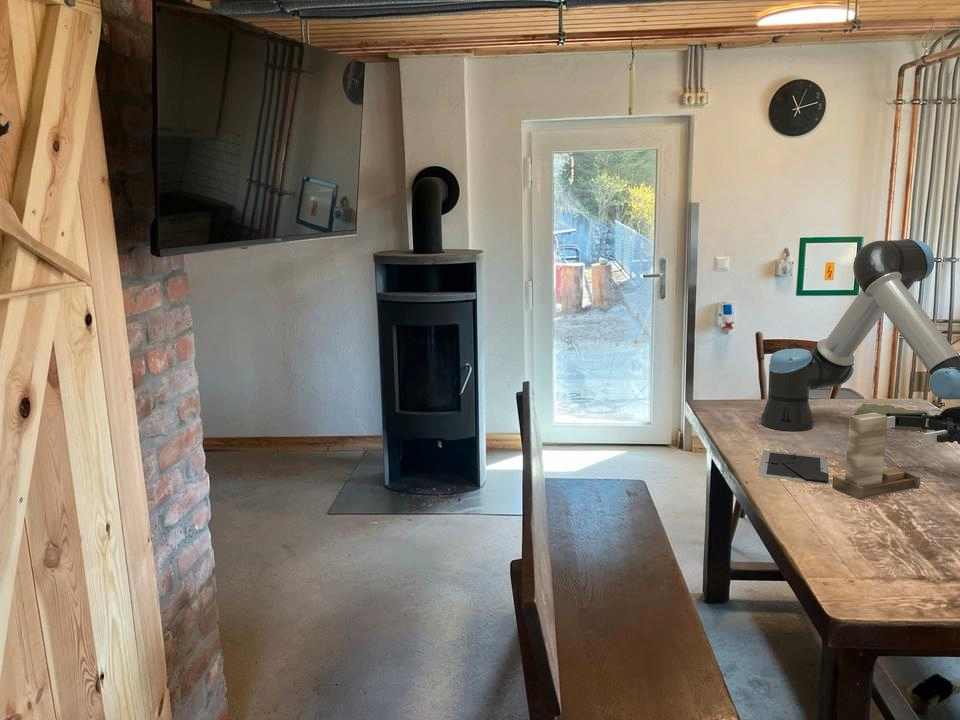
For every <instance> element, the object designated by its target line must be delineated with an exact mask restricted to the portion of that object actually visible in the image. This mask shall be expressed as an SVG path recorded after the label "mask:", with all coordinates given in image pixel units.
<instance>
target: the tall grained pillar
mask: <svg viewBox="0 0 960 720" xmlns="http://www.w3.org/2000/svg"><path fill="white" fill-rule="evenodd" d="M887 417H888V416H885V415H881V414H878V413H869V414H862V415H855V416H853V415H850V416H849V418H848V419H849V421H848V432H847V433H848V435H847V444H846V446H847V447H846V449H847V450H846V460H845V473H844V479H845V480H846V481H849V482H851V483H854V484H856V485H859V486H861V487H867V486H872V485H877V484H882V475H883V469H884V461H885V450H886V440H887V439H886V438H887Z"/></svg>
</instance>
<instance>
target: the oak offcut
mask: <svg viewBox="0 0 960 720" xmlns="http://www.w3.org/2000/svg"><path fill="white" fill-rule="evenodd" d="M898 480H904V472H902V471H899V470H896V469H893V468H883V475H882V481H884V482H885V483H888V482H893V481H898Z"/></svg>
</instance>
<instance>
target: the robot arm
mask: <svg viewBox="0 0 960 720" xmlns="http://www.w3.org/2000/svg"><path fill="white" fill-rule="evenodd" d="M852 264H853V266H852V269H853V274H854V277H855V281H856V283H857V284H858V286H859V287H860V289H861V290H860V291H859V292H858V294H857V295H856V297H855V298H854V300H853V301H852V302H851V304H850V306H849V307H848V308H847V310H846V311H845V312H844V314H843V315H842V316H841V318H840V319H839V321H838V323H837V324H836V325H835V327H834V328H833V330H832V331H831V332H830V334H829V335H828V337H827V338H823V339H820V340H819V341H817V343H816V345H815V346H814V348H813V349H812V350H811V351H810V350H808V349H804V348H795V347H793V348H785V349H780V350H777V351H776V352H773V353H772V354H771V356H770V360H769V364H768V370H769V371H768V393H767V394H768V395H767V401H766V403H765V406H764V410H763V412H762V413H761V415H760V424H761V425H763V427H767V428H770V429H773V430H778V431H788V432H803V431H808V430H811V429H812V428H814V417H813V416H812V410H811V406H810V403H809V399H810V397H809V396H810V390H817V389H826V388H835V387H838V386H841V385H844V384H845V383H847V382H848V381H849V380H850V379H851V378H852V376H853V374H854V370H855V369H854V368H853V367H854V365H855V363H854V362H855V355H854V353H855V352H857V351H856V350H857V349H858V348H859V346H860V345H861V344H862V342H863V341H864V340H865V339H866V337H867V336H868V334H869V333H870V332H871V331H872V329H873V328H874V327H875V325H876V324H877V322H878V321H879V320H880V318H881V317H883V314H885V315H886V317H887V318H888V320H889V321H890V322H891V324H892V325H893V326H894V328H895V329H896V330H897V332H898V333H899V334H900V335H901V337H902V338H903V339H904V341H905V343H907V345H908V347H910V349H911V350H912V352H913V353H914V354H915V356H916V358H918V360H919V361H920V362H921V363H922V365H923V367H924V368H925V369H926V371H928V373H929V375H930V376H929V381H928V384H929V389H930V391H931V392H932V394H933V395H934V396H935V397H937V398H938V399H941V400H960V355H959V354H958V352H957V351H956V349H954V347H953V345H951V343H950V342H949V341H948V339H947V338H946V337H945V335H944V334H943V333H942V332H941V331H940V329H939V328H938V326H937V325H936V324H935V323H934V321H933V320H932V319H931V318H930V316H929V315H928V314H927V313H926V311H925V310H924V309H923V307H922V306H921V304H920V303H919V302H918V301H917V300H916V298H915V297H914V296H913V294H912V293H911V292H910V291H909V290H910V288H911V287H912V286H913V285H914V283H915V282H916V283H917V282H921V281H924V280H925V279H927V278H928V277H930V275H931V274H932V272H933V270H934V267H935V259H934V253H933V249H932V248H931V247H930V246H929V244H927V243H926V242H924V241H922V240H920V239H911V238H904V239H896V240H895V239H894V240H893V239H891V240H875V241H872V242H868V243H867V244H866V245H864V246H863V247H861V248H860V249H859V251H857V253H856V255H855V256H854V259H853V263H852ZM886 416H888V417H887V429H891V430H893V429H892V428H894V427H895V426H904V427H921V428H922V429H923V430H927V431H930V432H926V433H922V434H923V435H922V443H921V445H922V446H924V447H926V446H931V445H937V444H942V443H943V444H944V443H947V442H948V443H951V444H952V443H955V442H957V444H958V445H960V406H959V405H958V406H953V407H948V408H944V409H943V410H942V411H941V413H939V414H934V415H931V414H929V415H927V413H925V412H923V413H886ZM926 422H928V427H926V426H925V425H926ZM887 429H886V430H887Z"/></svg>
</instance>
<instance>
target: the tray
mask: <svg viewBox="0 0 960 720" xmlns="http://www.w3.org/2000/svg"><path fill="white" fill-rule="evenodd" d="M888 468H893V469H896V470H899V471H902V472H904V480H898V481H893V482H888V483H885V482H884V481H882V484H877V485H872V486H867V487H861V486H859V485H856V484H854V483H851V482H849V481H846V480H845V478H841V477H839V476H837V475H834V476H832V487H831V488H832V489H834V490H835V491H838V492H840V493H842V494H846V495H848V496H850V497H852V498H855V499H856V500H859V501H862V500H868V499H872V498H876V497H877V498H878V497H881V496H882V497H883V496H888V495H893V494H897V493H903V492H907V491H913V490H916V489H920V488H921V487H920V485H921V476H920V475H916V474H914V473H911V472H909V471H907V470H906V471H905V470H903V469H900V468H897V467H894V466H891V465H889V466H888Z"/></svg>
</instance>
